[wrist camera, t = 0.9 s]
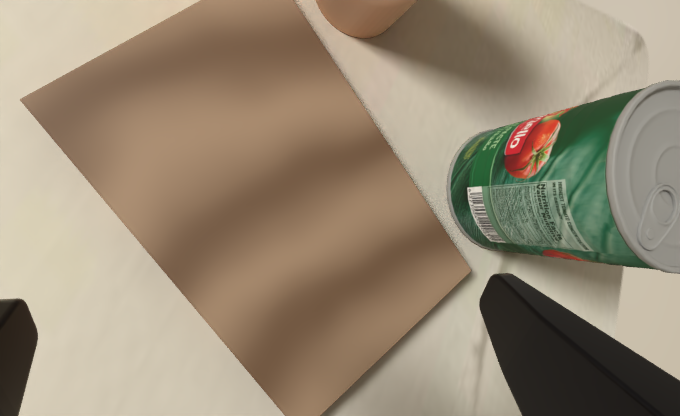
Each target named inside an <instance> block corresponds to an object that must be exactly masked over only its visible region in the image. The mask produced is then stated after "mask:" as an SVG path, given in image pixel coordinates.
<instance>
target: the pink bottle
mask: <svg viewBox="0 0 680 416" xmlns="http://www.w3.org/2000/svg"><path fill="white" fill-rule="evenodd" d="M416 1H417V0H316V2H317V4H318V7H319V9H320V10H321V12H322V14H323V15H324V16H325V18H326V19H327V20H328V21H329V22H330V23H331V24H332V25H333V26H334V27H335V28H337V29H338V30H339V31H341V32H343V33H345V34H347V35H350V36H353V37H357V38H370V37H374V36H377V35H379V34H381V33H383V32H384V31H386V30H387V29H388V28H389V27H390V26H391V25H392V24H393V23H394V22H395V21H396V20H397V19H398V18H399V17H401V16H402V15H403V14H404V13H405V12H406V11H407V10H408V9H409V8H410V7H411V6H412V5H413V4H414V3H415V2H416Z"/></svg>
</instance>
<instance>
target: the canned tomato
mask: <svg viewBox="0 0 680 416" xmlns="http://www.w3.org/2000/svg"><path fill="white" fill-rule="evenodd" d="M447 199H448V204H449V208H450V212H451V214H452V217H453V219H454V221H455V223H456V225H457V226H458V228H459V229H460V230H461V232H462V233H463V234H464V235H465V236H466V237H467V238H468V239H469V240H470V241H472V242H473V243H475V244H477V245H478V246H480V247H483V248H486V249H489V250H498V251H501V250H503V251H508V252H518V253H525V254H532V255H540V256H550V257H556V258H564V259H573V260H578V261H590V262H595V263H606V264H610V265H622V266H626V267H638V268H649V269H656V270H661V271H663V272H667V273H678V274H680V81H669V80H667V81H663V82H659V83H656V84H652V85H650V86H648V87H646V88H643V89H640V90H636V91H631V92H627V93H622V94H619V95H615V96H612V97H610V98H604V99H601V100H597V101H594V102H590V103H586V104H583V105H580V106H575V107H572V108H568V109H565V110H561V111H558V112H554V113H550V114H547V115H543V116H539V117H536V118H532V119H529V120H525V121H522V122H518V123H514V124H511V125H507V126H503V127H500V128H497V129H494V130H487V131H484V132H480V133H478V134H476V135H474V136H473V137H471V138H469V139H468V140H467V141H466V142H465V143H464V144H463V145H462V146H461V147H460V149H459V150H458V151H457V153H456V154H455V156H454V159H453V161H452V163H451V165H450V169H449V173H448V178H447Z"/></svg>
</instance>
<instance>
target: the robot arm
mask: <svg viewBox="0 0 680 416" xmlns="http://www.w3.org/2000/svg"><path fill="white" fill-rule="evenodd" d="M480 311H481V314H482V317H483V319H484V322H485V325H486V328H487V331H488V334H489V336H490V339H491V342H492V345H493V348H494V351H495V353H496V356H497V359H498V362H499V364H500V367H501V370H502V372H503V375H504V377H505V379H506V381H507V384H508V386H509V388H510V390H511V392H512V394H513V397H514V399H515V401H516V403H517V405H518V407H519V409H520V412H521V414H522V416H680V381H679V380H678V379H676V378H675V377H673V376H672V375H670V374H668V373H667V372H665V371H664V370H662V369H661V368H659V367H657V366H656V365H654V364H653V363H651V362H649V361H648V360H646V359H645V358H643V357H642V356H640V355H639V354H637V353H635V352H634V351H632V350H631V349H629V348H628V347H626V346H624V345H623V344H621V343H620V342H618V341H616V340H615V339H613V338H612V337H610V336H609V335H607V334H606V333H604V332H602V331H601V330H599V329H598V328H596V327H595V326H593V325H591V324H590V323H588V322H587V321H585V320H584V319H582V318H580V317H579V316H577V315H576V314H574V313H573V312H571V311H569V310H568V309H566V308H565V307H563V306H562V305H560V304H558V303H557V302H555V301H554V300H552V299H551V298H549V297H547V296H546V295H544V294H543V293H541V292H540V291H538V290H536V289H535V288H533V287H532V286H530V285H529V284H527V283H525V282H524V281H522V280H521V279H519V278H518V277H516V276H514V275H513V274H509V273H503V274H494V275H492V276H491V277H490V279H489V281H488V283H487V285H486V287H485V289H484V291H483V294H482V296H481V298H480ZM37 340H38V333H37V328H36V326H35V323H34V321H33V318H32V316H31V313H30V311H29V308H28V306H27V304H26V302H25V301H24V300H22V299H0V416H18V415H19V411H20V407H21V403H22V400H23V396H24V392H25V388H26V384H27V380H28V376H29V373H30V369H31V365H32V361H33V357H34V353H35V349H36V346H37Z"/></svg>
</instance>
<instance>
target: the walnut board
mask: <svg viewBox="0 0 680 416" xmlns="http://www.w3.org/2000/svg"><path fill="white" fill-rule="evenodd" d="M20 101H21V102H22V103H23V104H24V105H25V107H26V108H27V109H28V110H29V111H30V113H31V114H32V115H33V116H34V117H35V118H36V120H37V121H38V122H39V123H40V124H41V126H42V127H43V128H44V129H45V130H46V132H47V133H48V134H49V135H50V136H51V138H52V139H53V140H54V141H55V142H56V143H57V145H58V146H59V147H60V148H61V149H62V151H63V152H64V153H65V154H66V155H67V157H68V158H69V159H70V160H71V161H72V163H73V164H74V165H75V166H76V167H77V168H78V170H79V171H80V172H81V173H82V174H83V176H84V177H85V178H86V179H87V180H88V182H89V183H90V184H91V185H92V186H93V188H94V189H95V190H96V191H97V192H98V194H99V195H100V196H101V197H102V198H103V199H104V201H105V202H106V203H107V204H108V205H109V207H110V208H111V209H112V210H113V211H114V213H115V214H116V215H117V216H118V217H119V219H120V220H121V221H122V222H123V223H124V224H125V226H126V227H127V228H128V229H129V230H130V232H131V233H132V234H133V235H134V236H135V238H136V239H137V240H138V241H139V242H140V244H141V245H142V246H143V247H144V248H145V249H146V251H147V252H148V253H149V254H150V255H151V257H152V258H153V259H154V260H155V261H156V263H157V264H158V265H159V266H160V267H161V269H162V270H163V271H164V272H165V273H166V274H167V276H168V277H169V278H170V279H171V280H172V282H173V283H174V284H175V285H176V286H177V288H178V289H179V290H180V291H181V292H182V294H183V295H184V296H185V297H186V298H187V299H188V301H189V302H190V303H191V304H192V305H193V307H194V308H195V309H196V310H197V311H198V313H199V314H200V315H201V316H202V317H203V319H204V320H205V321H206V322H207V323H208V324H209V326H210V327H211V328H212V329H213V330H214V332H215V333H216V334H217V335H218V336H219V338H220V339H221V340H222V341H223V342H224V344H225V345H226V346H227V347H228V348H229V349H230V351H231V352H232V353H233V354H234V355H235V357H236V358H237V359H238V360H239V361H240V363H241V364H242V365H243V366H244V367H245V369H246V370H247V371H248V372H249V373H250V374H251V376H252V377H253V378H254V379H255V380H256V382H257V383H258V384H259V385H260V386H261V388H262V389H263V390H264V391H265V392H266V394H267V395H268V396H269V397H270V398H271V400H272V401H273V402H274V403H275V404H276V405H277V407H278V408H279V409H280V410H281V411H282V413H283V414H284V415H285V416H320V415H321V414H322V413H324V412H325V411H326V410H327V409H328V408H329V407H330V406H331V405H332V404H333V403H334V402H335V401H336V400H337V399H338V398H339V397H340V396H341V395H342V394H343V393H344V392H345V391H346V390H348V389H349V388H350V387H351V386H352V385H353V384H354V383H355V382H356V381H357V380H358V379H359V378H360V377H361V376H362V375H363V374H364V373H365V372H366V371H367V370H368V369H369V368H370V367H371V366H373V365H374V364H375V363H376V362H377V361H378V360H379V359H380V358H381V357H382V356H383V355H384V354H385V353H386V352H387V351H388V350H389V349H390V348H391V347H392V346H393V345H394V344H395V343H397V342H398V341H399V340H400V339H401V338H402V337H403V336H404V335H405V334H406V333H407V332H408V331H409V330H410V329H411V328H412V327H413V326H414V325H415V324H416V323H417V322H418V321H419V320H421V319H422V318H423V317H424V316H425V315H426V314H427V313H428V312H429V311H430V310H431V309H432V308H433V307H434V306H435V305H436V304H437V303H438V302H439V301H440V300H441V299H442V298H443V297H444V296H446V295H447V294H448V293H449V292H450V291H451V290H452V289H453V288H454V287H455V286H456V285H457V284H458V283H459V282H460V281H461V280H462V279H463V278H464V277H465V276H466V275H467V274H468V273H470V272H471V269H470V268H469V266H468V265H467V263H466V262H465V260H464V259H463V257H462V256H461V254H460V253H459V251H458V249H457V248H456V246H455V245H454V243H453V242H452V240H451V239H450V237H449V236H448V234H447V233H446V231H445V230H444V228H443V227H442V225H441V224H440V222H439V221H438V219H437V218H436V216H435V215H434V213H433V211H432V210H431V208H430V207H429V205H428V204H427V202H426V201H425V199H424V198H423V196H422V195H421V193H420V192H419V190H418V189H417V187H416V186H415V184H414V183H413V181H412V180H411V178H410V176H409V175H408V173H407V172H406V170H405V169H404V167H403V166H402V164H401V163H400V161H399V160H398V158H397V157H396V155H395V154H394V152H393V151H392V149H391V148H390V146H389V145H388V143H387V142H386V140H385V138H384V137H383V135H382V134H381V132H380V131H379V129H378V128H377V126H376V125H375V123H374V122H373V120H372V119H371V117H370V116H369V114H368V113H367V111H366V110H365V108H364V107H363V105H362V104H361V102H360V100H359V99H358V97H357V96H356V94H355V93H354V91H353V90H352V88H351V87H350V85H349V84H348V82H347V81H346V79H345V78H344V76H343V75H342V73H341V72H340V70H339V69H338V67H337V66H336V64H335V62H334V61H333V59H332V58H331V56H330V55H329V53H328V52H327V50H326V49H325V47H324V46H323V44H322V43H321V41H320V40H319V38H318V37H317V35H316V34H315V32H314V31H313V29H312V27H311V26H310V24H309V23H308V21H307V20H306V18H305V17H304V15H303V14H302V12H301V11H300V9H299V8H298V6H297V5H296V3H295V2H294V0H201V1H199V2H197V3H195V4H193V5H192V6H190V7H188V8H186V9H184V10H182V11H181V12H179V13H177V14H175V15H173V16H171V17H170V18H168V19H166V20H164V21H162V22H160V23H159V24H157V25H155V26H153V27H151V28H149V29H148V30H146V31H144V32H142V33H140V34H139V35H137V36H135V37H133V38H131V39H129V40H128V41H126V42H124V43H122V44H120V45H118V46H117V47H115V48H113V49H111V50H109V51H107V52H106V53H104V54H102V55H100V56H98V57H96V58H95V59H93V60H91V61H89V62H87V63H85V64H84V65H82V66H80V67H78V68H76V69H75V70H73V71H71V72H69V73H67V74H65V75H64V76H62V77H60V78H58V79H56V80H54V81H53V82H51V83H49V84H47V85H45V86H43V87H42V88H40V89H38V90H36V91H34V92H32V93H31V94H29V95H27V96H25V97H23V98H21V99H20Z"/></svg>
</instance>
